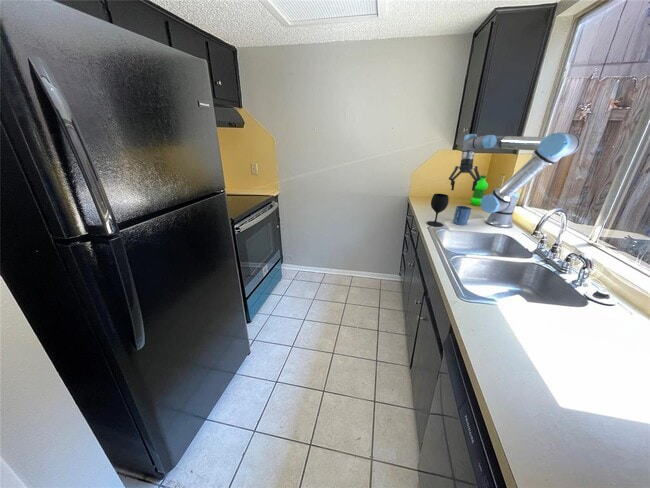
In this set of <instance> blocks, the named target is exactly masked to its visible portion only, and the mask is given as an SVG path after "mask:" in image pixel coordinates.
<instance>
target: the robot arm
mask: <svg viewBox="0 0 650 488" xmlns="http://www.w3.org/2000/svg"><path fill="white" fill-rule="evenodd" d="M581 144H582V141H581V138H580V136H579V135H578V134H576V133H571V132H554V133H550V134H548V135H546V136H518V135H517V136H516V135H515V136H514V135H513V136H512V135H495V134H487V135H482V136H478V134H476V133H468V134H465V135H464V138H463V143H462V152H461V159H460V165H459V166H458V165H455V166H454V169H453V171H452V173H451V174H450V176H449V177H448V180H449V181H450V186H451V191H455V183H456V179H457V178H458V177H459V176H460V175H462V174H469V175H470V177H471V178H472V179H473V181H472V187H471V191H472V192H474V191H475V186H477V181H479V180H481V178H480V176H481V174H480V173H479V170H478V169H479V167H478V166H477V165H474V158H475V153H476V150H480V149H500V150H501V149H502V150H503V149H505V150H521V151H533V156H532V157H531V158H530V159H528V161H526V162H525V163H524V164H523V166H521V167H520V168H519V169H518V170H517V171H516V172H515V173H513V175H511V177H509V179H507V180H506V181H505V182H504V183H503V184H502V185H501V186H500V187H495V188H494V189H493V190H492V191H491V192H490V193H489V194H486V195H484V196H483V198H482V199H481V204H480V207H481V209H482V210H483V211H484V212H485V213H488V214H489V215H488V216H487V218H486V221H485V222H486V224H488V225H490V226H492V227H497V228H504V229H509V228H512V227H513V223H514V222H513V215H514V211H515V208H516V206H517V202H518V200H519V196H520V194H519V191H520V190H521V189H522V188H524V187H525V186H526V185H527V184H528V183H530V181H532V180H533V179H534V178H535V177H536V176H537V175H539V174H540V173H541V172H542V171H543V170H544V169H546V168H547V167H548V166H551V165H552V166H553V165H554V164H556V163H558V161H559V160H561V159H562V158H563V157H568V156H571V155H573V154H575V153H576V152H577V151H578V150H579V149H580V147H581ZM473 165H474V166H473ZM473 170H474V172H473ZM457 171H458V172H457ZM474 173H475V174H474Z"/></svg>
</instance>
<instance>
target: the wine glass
mask: <svg viewBox="0 0 650 488" xmlns="http://www.w3.org/2000/svg"><path fill="white" fill-rule="evenodd" d="M449 197H450V196H449V195H448V194H446V193H434V194H433V195H432V197H431V200H430V205H431V206H430V208H431V209H432V210H433V211H434V212H435V218H434V220H429V221H426V225H428V226H430V227H435V228H440V227H443V226H444V224H443V223H442V222H439V221H437V220H438V216H439V214H440V213H442V212H444V211H445V210H446V209H447V207H448V206H449V201H450V200H449V199H450V198H449Z"/></svg>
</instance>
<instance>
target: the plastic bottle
mask: <svg viewBox="0 0 650 488" xmlns="http://www.w3.org/2000/svg"><path fill="white" fill-rule="evenodd" d="M480 178H481V180H479V181H477V186H475V191H473V194H472V197H471V198H470V200H469V202H470V203H471V204H472V205H473V206H476V207H477V206H481V199H482V198H483V197H484V196H485V192H486V190H487V189H488V188H489V184H488V182H487V181H486V178H487V175H483V174H480Z"/></svg>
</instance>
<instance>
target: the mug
mask: <svg viewBox="0 0 650 488" xmlns="http://www.w3.org/2000/svg"><path fill="white" fill-rule="evenodd" d="M471 211H472V208H471V207H469V206H467V205H456V206H455V211H454V215H453V218H452V223H453V224H455V225H459V226H467V225H468V223H469V218H470V215H471Z"/></svg>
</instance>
